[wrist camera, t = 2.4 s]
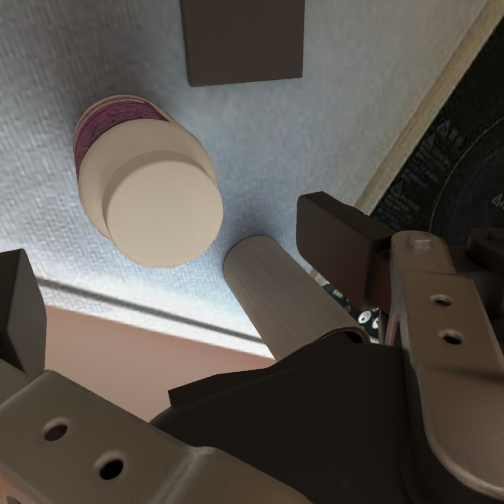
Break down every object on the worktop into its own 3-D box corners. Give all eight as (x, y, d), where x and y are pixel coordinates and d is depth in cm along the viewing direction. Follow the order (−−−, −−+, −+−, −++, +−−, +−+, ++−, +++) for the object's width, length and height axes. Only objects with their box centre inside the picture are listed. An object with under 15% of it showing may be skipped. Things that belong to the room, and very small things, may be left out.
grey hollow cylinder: (247, 223, 26) (334, 315, 18) (293, 250, 29) (387, 341, 20) (209, 277, 27) (275, 389, 19) (257, 299, 30) (333, 405, 21)
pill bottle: (59, 177, 20) (58, 270, 13) (90, 74, 19) (110, 108, 11) (159, 206, 23) (207, 297, 15) (193, 119, 22) (266, 172, 14)
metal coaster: (173, -72, 18) (175, -74, 17) (303, -66, 20) (307, -68, 19) (189, 86, 21) (191, 87, 20) (299, 76, 23) (302, 77, 23)
